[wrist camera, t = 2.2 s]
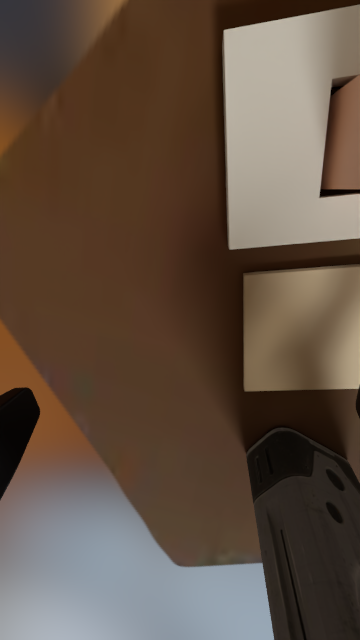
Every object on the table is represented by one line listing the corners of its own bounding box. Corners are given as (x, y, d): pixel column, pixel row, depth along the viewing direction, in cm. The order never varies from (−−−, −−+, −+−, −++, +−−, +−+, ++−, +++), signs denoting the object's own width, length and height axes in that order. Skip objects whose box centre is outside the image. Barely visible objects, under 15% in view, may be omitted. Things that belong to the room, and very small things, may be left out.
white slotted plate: (539, -12, 12) (581, -38, 11) (462, 223, 16) (485, 226, 15) (221, 45, 14) (223, 30, 12) (227, 245, 18) (229, 249, 17)
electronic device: (355, 461, 26) (698, 1084, 8) (310, 491, 28) (493, 1017, 10) (279, 418, 24) (487, 1069, 6) (238, 454, 27) (306, 994, 9)
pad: (433, 258, 17) (441, 260, 17) (396, 382, 22) (401, 387, 21) (243, 272, 19) (244, 275, 18) (243, 386, 23) (244, 391, 22)
